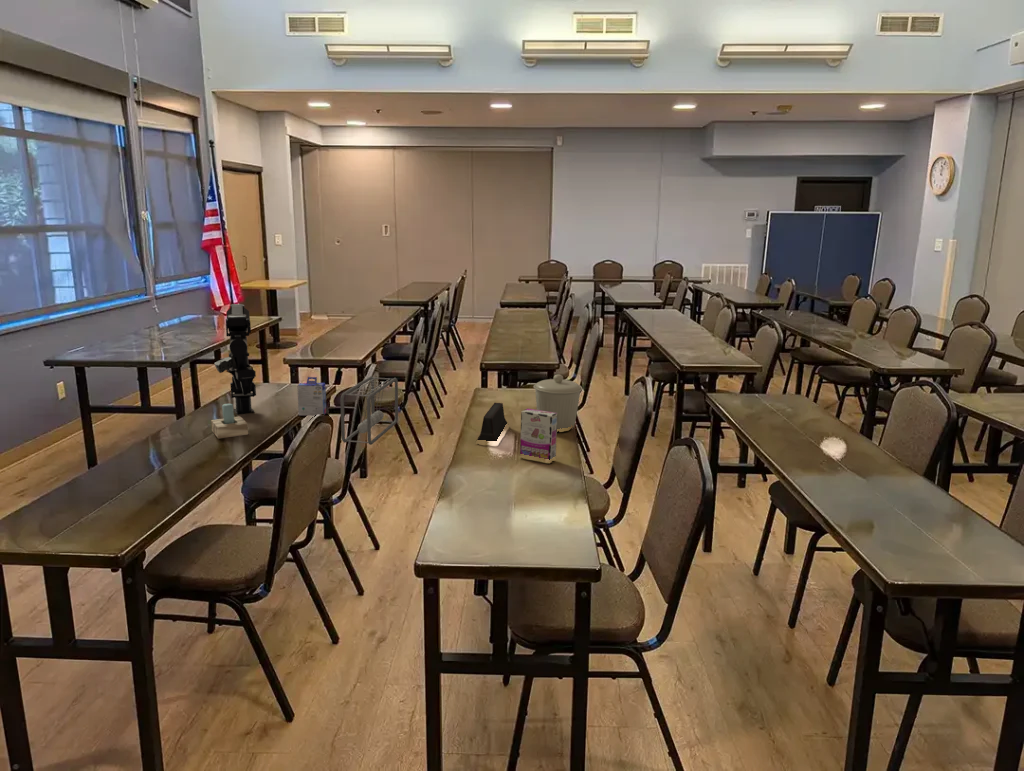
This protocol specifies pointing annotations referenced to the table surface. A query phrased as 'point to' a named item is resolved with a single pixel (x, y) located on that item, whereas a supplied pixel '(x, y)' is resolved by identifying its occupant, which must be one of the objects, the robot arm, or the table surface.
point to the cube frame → (375, 416)
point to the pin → (228, 413)
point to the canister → (559, 399)
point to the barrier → (493, 423)
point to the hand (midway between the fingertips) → (241, 392)
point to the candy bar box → (538, 433)
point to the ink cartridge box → (311, 398)
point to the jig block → (229, 428)
